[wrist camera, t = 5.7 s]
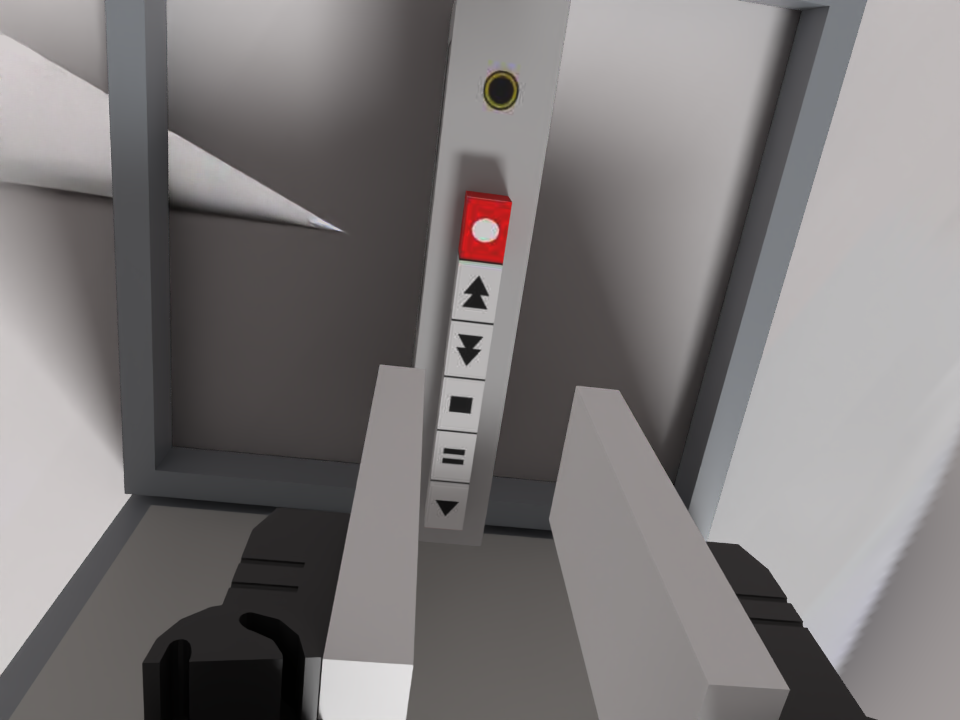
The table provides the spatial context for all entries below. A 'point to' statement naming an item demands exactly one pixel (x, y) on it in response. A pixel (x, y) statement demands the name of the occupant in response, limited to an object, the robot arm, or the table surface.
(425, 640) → the equipment case
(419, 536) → the cassette player
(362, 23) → the table surface
